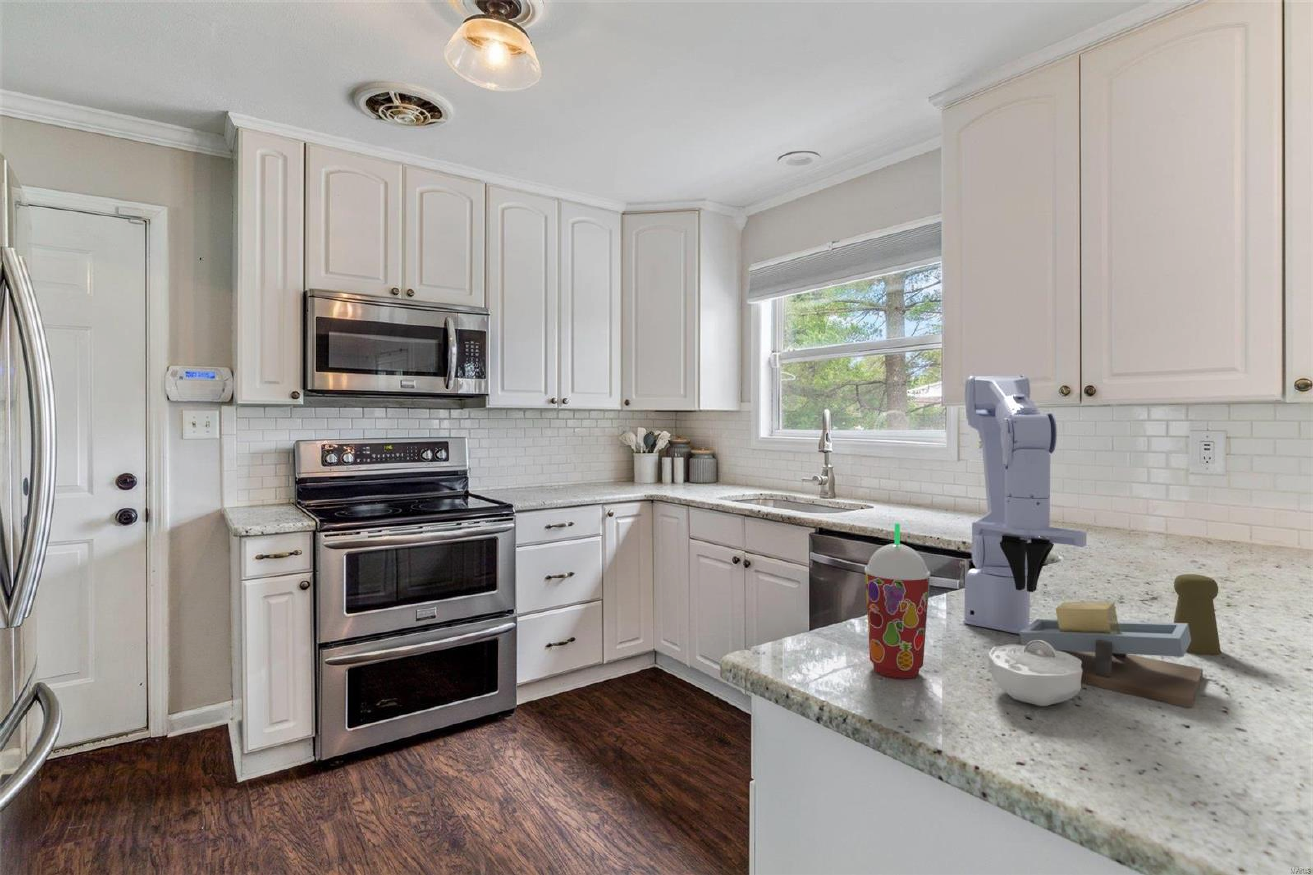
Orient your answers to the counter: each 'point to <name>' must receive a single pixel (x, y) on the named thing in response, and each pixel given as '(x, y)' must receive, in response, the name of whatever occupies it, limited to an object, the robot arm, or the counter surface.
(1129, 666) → the stand
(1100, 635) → the beam
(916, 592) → the smoothie
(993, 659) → the cell model
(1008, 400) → the robot arm
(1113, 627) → the block
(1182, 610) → the cork
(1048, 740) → the counter surface
